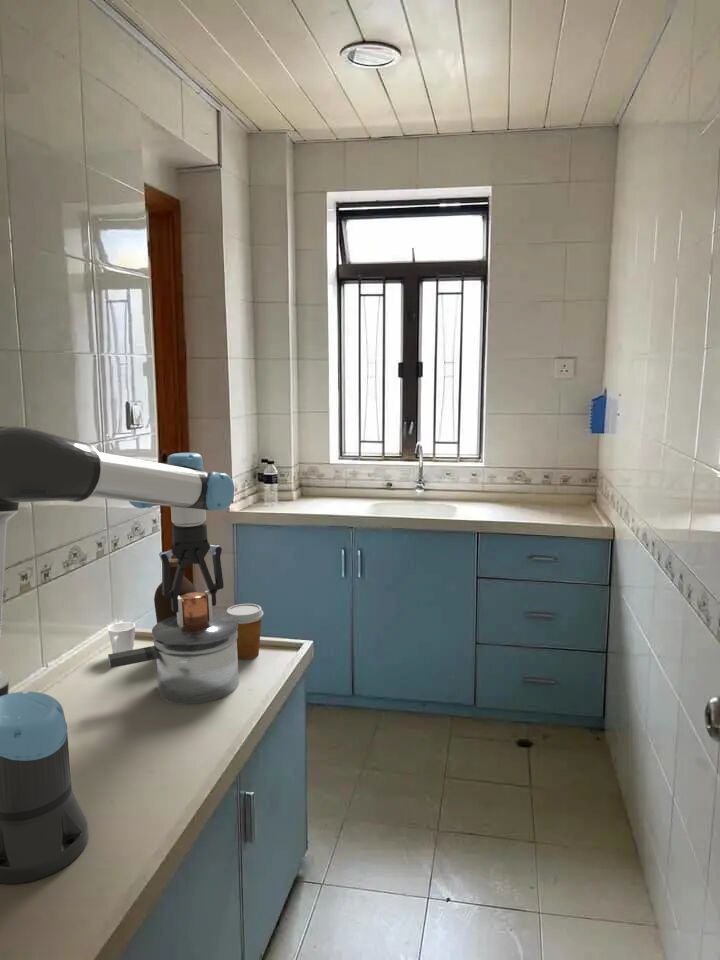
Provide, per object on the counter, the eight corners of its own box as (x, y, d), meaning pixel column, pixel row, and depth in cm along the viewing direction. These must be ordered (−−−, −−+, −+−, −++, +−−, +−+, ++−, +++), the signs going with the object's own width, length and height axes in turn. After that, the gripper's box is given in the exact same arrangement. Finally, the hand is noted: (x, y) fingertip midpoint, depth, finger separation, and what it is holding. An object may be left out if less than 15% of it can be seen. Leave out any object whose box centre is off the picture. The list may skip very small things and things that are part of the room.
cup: (141, 650, 184) (139, 621, 183) (129, 667, 174) (127, 635, 173) (114, 651, 184) (112, 621, 183) (100, 667, 174) (98, 636, 173)
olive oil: (164, 667, 174) (157, 568, 170) (153, 652, 183) (146, 558, 179) (206, 657, 179) (201, 561, 175) (193, 643, 188) (188, 552, 184)
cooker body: (119, 723, 147) (114, 668, 145) (107, 687, 163) (103, 638, 161) (250, 692, 159) (248, 642, 157) (227, 662, 176) (224, 616, 174)
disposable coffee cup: (257, 663, 175) (255, 616, 173) (221, 660, 177) (218, 614, 175) (270, 648, 184) (268, 603, 182) (235, 646, 186) (233, 602, 184)
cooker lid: (161, 653, 149) (158, 616, 147) (145, 624, 165) (143, 591, 164) (248, 636, 157) (247, 601, 156) (225, 610, 174) (223, 579, 172)
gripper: (226, 515, 165) (231, 610, 168) (142, 524, 156) (149, 624, 160) (235, 521, 158) (240, 620, 162) (148, 531, 150) (155, 635, 153)
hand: (195, 622), depth 161 cm, fingers closed on cooker lid, 6 cm apart
